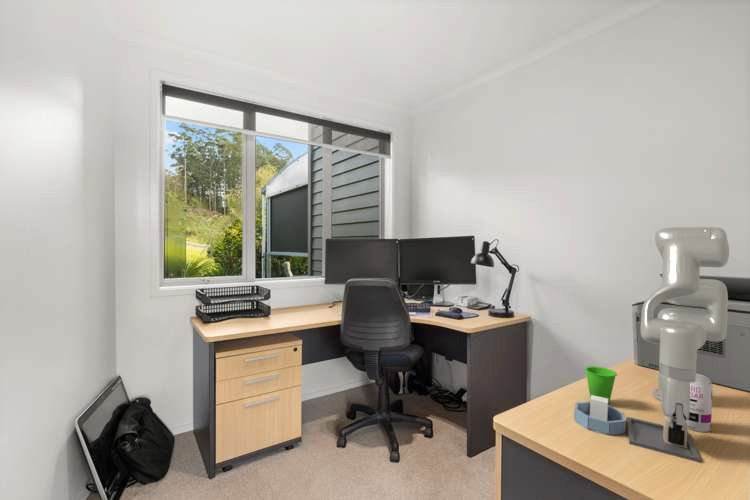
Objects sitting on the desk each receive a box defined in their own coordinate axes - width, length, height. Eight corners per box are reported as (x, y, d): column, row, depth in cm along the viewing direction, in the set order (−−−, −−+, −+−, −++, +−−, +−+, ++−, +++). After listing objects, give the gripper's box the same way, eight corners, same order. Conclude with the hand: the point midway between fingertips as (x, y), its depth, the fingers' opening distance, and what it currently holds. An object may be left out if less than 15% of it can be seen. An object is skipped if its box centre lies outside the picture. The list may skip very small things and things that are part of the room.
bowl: (576, 410, 113) (576, 398, 113) (623, 422, 106) (623, 408, 106) (573, 427, 103) (573, 413, 103) (625, 441, 96) (625, 426, 96)
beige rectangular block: (663, 436, 98) (663, 415, 98) (684, 441, 95) (684, 419, 95) (664, 442, 95) (665, 420, 95) (686, 448, 92) (687, 425, 92)
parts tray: (626, 420, 107) (626, 416, 107) (687, 434, 100) (687, 430, 100) (629, 445, 94) (629, 440, 94) (699, 464, 86) (700, 459, 86)
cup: (621, 411, 113) (622, 377, 113) (590, 408, 115) (591, 374, 115) (608, 399, 122) (609, 367, 122) (579, 396, 124) (580, 365, 124)
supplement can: (701, 422, 107) (703, 373, 107) (717, 436, 99) (719, 383, 99) (668, 417, 110) (670, 369, 109) (681, 430, 102) (683, 379, 102)
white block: (590, 414, 109) (591, 394, 109) (607, 418, 107) (608, 398, 107) (589, 418, 106) (590, 398, 106) (607, 423, 104) (607, 402, 104)
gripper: (655, 360, 104) (653, 422, 104) (663, 378, 90) (660, 449, 90) (689, 366, 100) (687, 430, 100) (703, 385, 86) (700, 460, 86)
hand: (674, 439), depth 95 cm, fingers closed on beige rectangular block, 3 cm apart
